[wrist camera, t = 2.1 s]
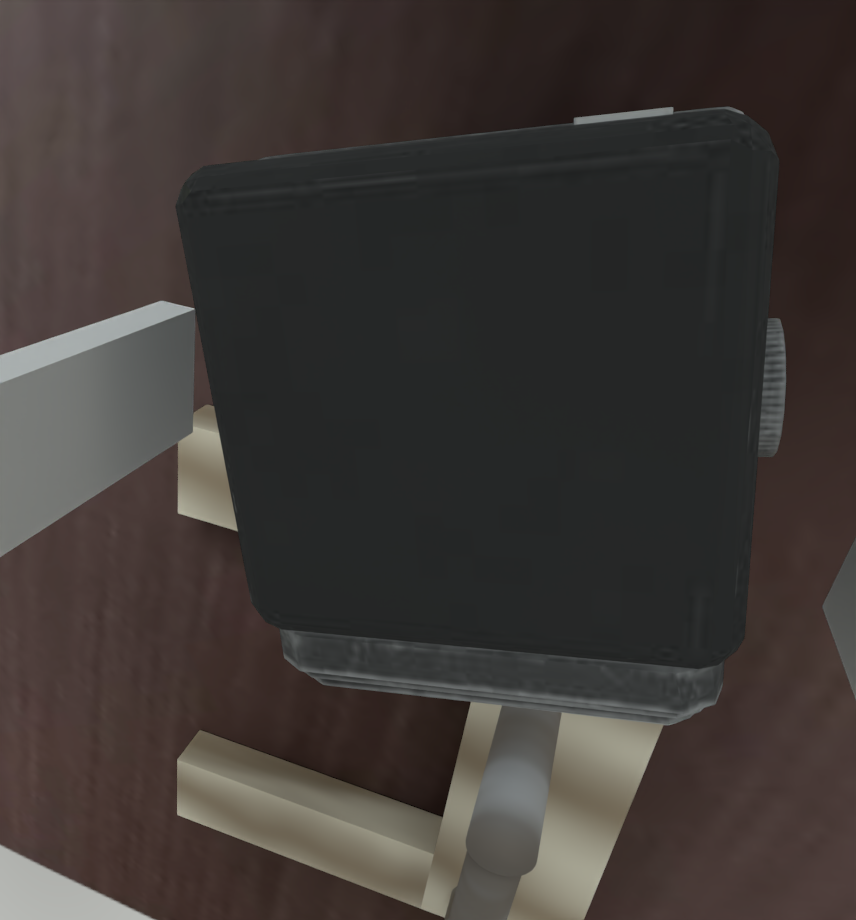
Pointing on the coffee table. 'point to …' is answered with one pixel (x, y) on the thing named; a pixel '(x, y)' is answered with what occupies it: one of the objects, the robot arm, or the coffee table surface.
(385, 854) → the wooden rack
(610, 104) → the coffee table surface
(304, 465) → the camera
